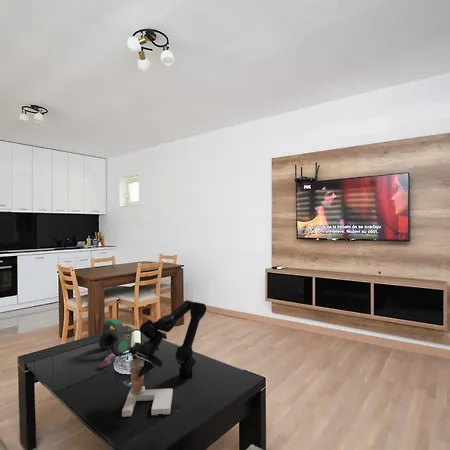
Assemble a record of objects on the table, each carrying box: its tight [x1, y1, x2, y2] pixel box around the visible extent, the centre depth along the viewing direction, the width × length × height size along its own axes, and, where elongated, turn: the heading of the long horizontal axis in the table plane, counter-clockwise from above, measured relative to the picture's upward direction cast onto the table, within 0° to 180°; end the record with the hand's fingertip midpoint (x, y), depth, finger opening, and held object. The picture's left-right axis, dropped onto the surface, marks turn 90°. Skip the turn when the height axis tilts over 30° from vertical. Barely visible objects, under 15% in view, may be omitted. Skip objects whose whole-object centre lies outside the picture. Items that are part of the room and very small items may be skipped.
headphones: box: [97, 318, 130, 355], centre depth 202 cm, size 19×11×20 cm, turn 55°
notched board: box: [121, 388, 174, 418], centre depth 145 cm, size 20×16×2 cm
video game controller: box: [98, 353, 117, 369], centre depth 184 cm, size 10×5×7 cm, turn 169°
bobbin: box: [128, 358, 146, 396], centre depth 146 cm, size 7×7×14 cm
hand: (134, 374), depth 145 cm, fingers closed on bobbin, 6 cm apart
